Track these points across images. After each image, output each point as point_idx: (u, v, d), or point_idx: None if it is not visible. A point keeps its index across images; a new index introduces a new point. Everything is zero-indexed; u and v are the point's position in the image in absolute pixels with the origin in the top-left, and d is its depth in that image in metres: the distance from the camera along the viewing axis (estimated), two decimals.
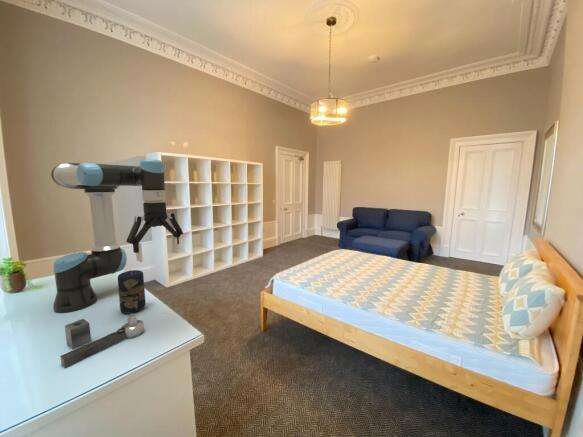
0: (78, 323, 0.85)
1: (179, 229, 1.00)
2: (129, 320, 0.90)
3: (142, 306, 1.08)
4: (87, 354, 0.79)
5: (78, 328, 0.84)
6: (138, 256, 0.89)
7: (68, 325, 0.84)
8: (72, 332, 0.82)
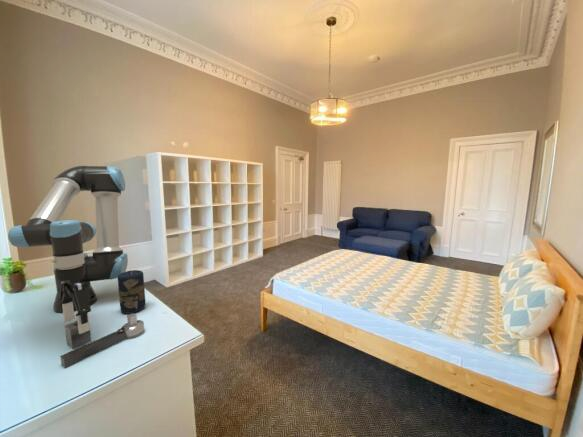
0: None
1: (79, 307, 0.78)
2: (129, 320, 0.90)
3: (142, 306, 1.08)
4: (87, 354, 0.79)
5: None
6: None
7: (68, 325, 0.84)
8: (72, 332, 0.82)
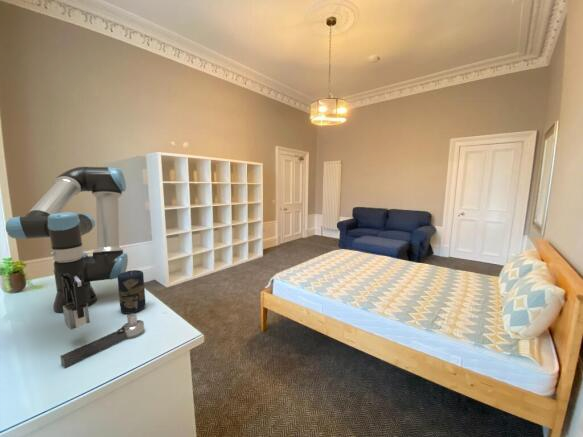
0: None
1: (76, 302, 0.80)
2: (129, 320, 0.90)
3: (142, 306, 1.08)
4: (87, 354, 0.79)
5: None
6: None
7: (66, 306, 0.84)
8: (70, 312, 0.82)
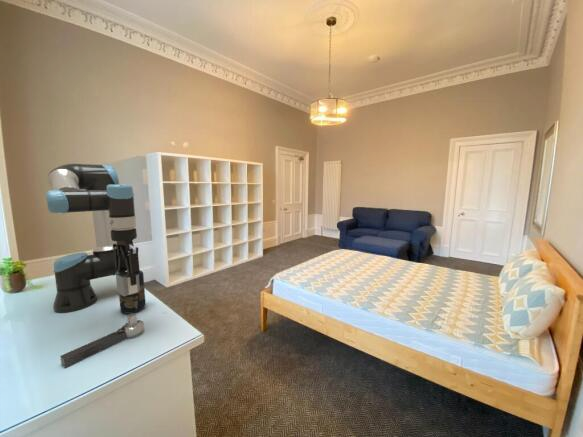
0: None
1: (130, 269, 0.84)
2: (129, 320, 0.90)
3: (142, 306, 1.08)
4: (87, 354, 0.79)
5: None
6: None
7: (119, 274, 0.88)
8: (124, 279, 0.85)
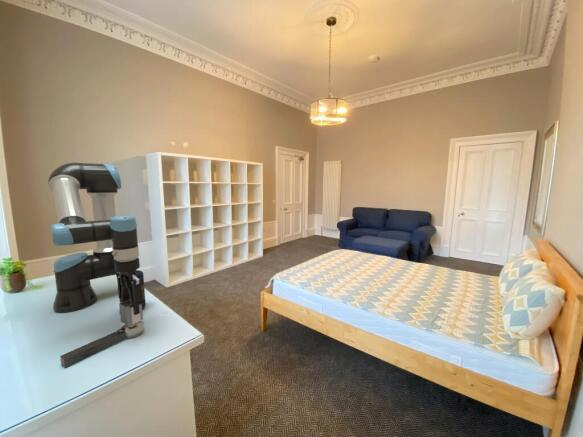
0: None
1: (134, 299, 0.86)
2: None
3: (142, 306, 1.08)
4: (87, 354, 0.79)
5: None
6: None
7: (122, 303, 0.89)
8: (127, 309, 0.87)
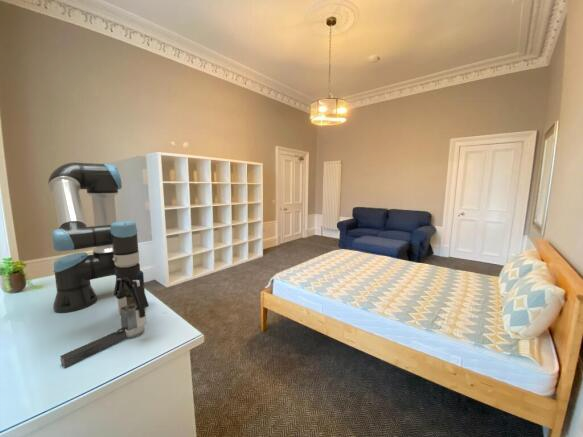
0: (132, 306, 0.91)
1: (138, 302, 0.84)
2: None
3: None
4: (87, 354, 0.79)
5: (133, 310, 0.89)
6: None
7: (123, 308, 0.90)
8: (128, 314, 0.87)
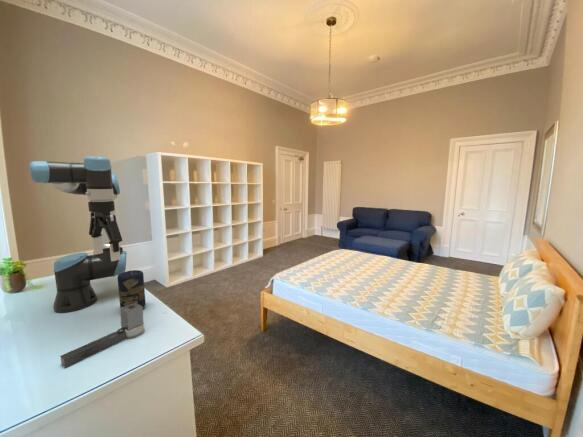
0: (132, 306, 0.91)
1: (112, 235, 0.85)
2: None
3: None
4: (87, 354, 0.79)
5: (133, 310, 0.89)
6: None
7: (123, 308, 0.90)
8: (128, 314, 0.87)
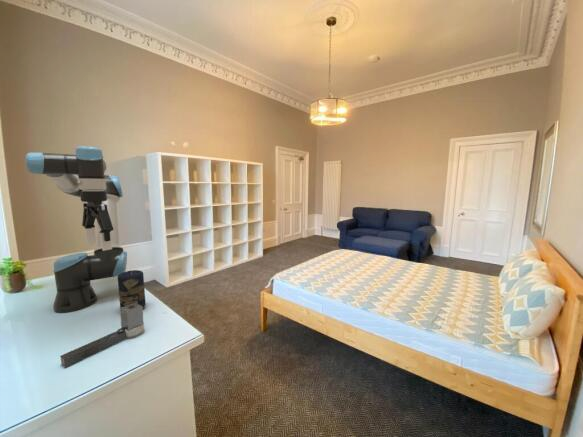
0: (132, 306, 0.91)
1: (103, 224, 0.86)
2: None
3: None
4: (87, 354, 0.79)
5: (133, 310, 0.89)
6: None
7: (123, 308, 0.90)
8: (128, 314, 0.87)
